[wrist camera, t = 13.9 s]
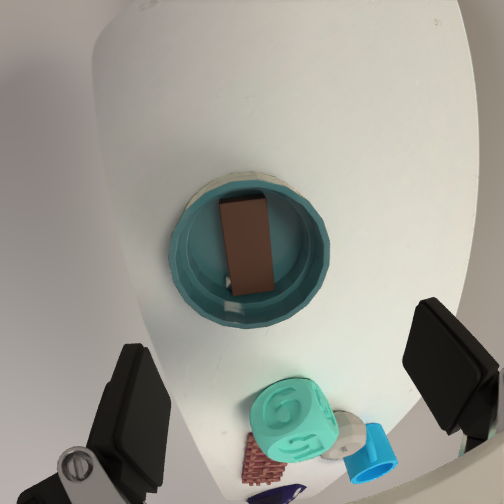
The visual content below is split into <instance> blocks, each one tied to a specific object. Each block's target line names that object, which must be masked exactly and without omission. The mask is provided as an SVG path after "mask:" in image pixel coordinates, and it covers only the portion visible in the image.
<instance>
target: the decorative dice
mask: <svg viewBox="0 0 504 504" xmlns="http://www.w3.org/2000/svg"><path fill="white" fill-rule="evenodd" d="M250 425H251V429H252V432H253V435H254V438H255V440H256V442H257V444H258V445H259V447H260V449H261V450H262V451H263V453H264V454H265V455H266V456H267V457H269V458H270V459H272V460H275V461H278V462H284V463H293V462H301V461H305V460H309V459H312V458H315V457H317V456H319V455H321V454H323V453H324V452H326V451H327V450H329V449H330V448H331V447H332V445H333V444H334V442H335V441H336V439H337V437H338V435H339V428H338V424H337V421H336V419H335V416H334V414H333V411H332V409H331V407H330V405H329V403H328V401H327V399H326V397H325V395H324V394H323V392H322V390H321V389H320V388H319V386H318V385H317V384H316V383H315V382H314V381H312V380H308V379H301V378H293V379H287V380H283V381H280V382H277V383H275V384H273V385H271V386H270V387H268V388H267V389H265V390H264V391H263V392H262V393H261V394H260V395H259V396H258V398H257V399H256V401H255V402H254V404H253V406H252V409H251V411H250Z"/></svg>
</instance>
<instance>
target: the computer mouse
mask: <svg viewBox="0 0 504 504" xmlns="http://www.w3.org/2000/svg"><path fill="white" fill-rule="evenodd" d="M305 488H307V487H305V486H303V485H300V484H294V485H288V486H283V487H279V488H275V489H271V490H268V491H265V492H262V493H260V494H257V495H255V496H253V497H251V498H248V500H247V502H248V503H249V504H288V503H289V502H291V501H292V500H294V499H295V497H296V496H297V495H298V494H299V493H301V492H302V491H303V490H304V489H305Z"/></svg>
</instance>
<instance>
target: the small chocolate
mask: <svg viewBox="0 0 504 504" xmlns="http://www.w3.org/2000/svg"><path fill="white" fill-rule="evenodd" d="M219 210H220V217H221V223H222V230H223V237H224V243H225V250H226V256H227V263H228V269H229V275H230V282H231V288H232V294H233V296H238V295H246V294H253V293H260V292H267V291H274V290H275V285H274V274H273V262H272V251H271V240H270V229H269V218H268V208H267V199H266V197H265V195H264V194H254V195H246V196H239V197H231V198H223V199H219Z"/></svg>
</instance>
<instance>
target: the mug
mask: <svg viewBox="0 0 504 504" xmlns="http://www.w3.org/2000/svg"><path fill="white" fill-rule="evenodd" d="M343 460H344V463H345V466H346V469H347V472H348V475H349V478H350V481H351V483H353V484H360V483H365V482H369V481H371V480H374V479H377V478H379V477H381V476H383V475H385V474H386V473H388V472H390V471H391V470H392V469H394V468H395V467H396V466H397V464H398V461H397V459H396V456H395V454H394V452H393V450H392V448H391V445H390V443H389V441H388V439H387V437H386V434H385V432H384V430H383V428H382V426H381V425H380V424H378V423H372V424H366V444H365V445H364V446H363V447H362V448H361V449H359V450H358V451H357V452H355V453H354V454H352V455H349V456H346V457H343Z"/></svg>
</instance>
